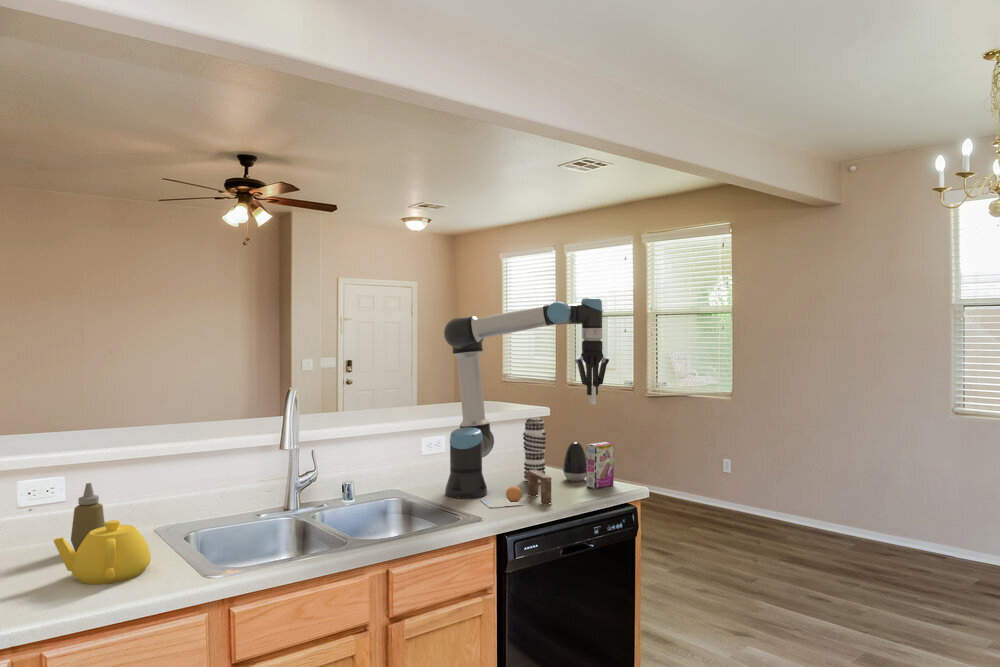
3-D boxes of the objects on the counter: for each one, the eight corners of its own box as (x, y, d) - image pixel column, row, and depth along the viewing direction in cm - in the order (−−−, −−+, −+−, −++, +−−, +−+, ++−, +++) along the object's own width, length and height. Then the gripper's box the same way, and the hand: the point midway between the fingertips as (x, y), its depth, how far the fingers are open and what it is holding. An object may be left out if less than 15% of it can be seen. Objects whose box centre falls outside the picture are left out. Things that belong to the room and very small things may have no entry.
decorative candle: (535, 477, 274) (535, 416, 274) (551, 481, 267) (550, 418, 267) (518, 480, 268) (518, 417, 269) (533, 484, 261) (533, 419, 261)
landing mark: (479, 500, 235) (479, 499, 235) (512, 497, 238) (512, 497, 238) (490, 508, 223) (490, 507, 223) (523, 505, 227) (523, 505, 227)
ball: (521, 489, 236) (512, 503, 235) (509, 481, 234) (500, 495, 233) (527, 493, 230) (518, 507, 229) (515, 485, 229) (506, 498, 228)
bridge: (543, 505, 228) (543, 477, 228) (528, 495, 241) (528, 470, 242) (551, 504, 229) (551, 477, 229) (536, 495, 242) (536, 469, 243)
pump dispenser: (588, 477, 273) (587, 440, 274) (588, 482, 263) (588, 444, 263) (562, 477, 274) (562, 439, 275) (562, 482, 264) (562, 443, 264)
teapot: (151, 559, 172) (151, 509, 173) (150, 582, 156) (150, 527, 156) (58, 571, 163) (58, 519, 163) (47, 598, 147) (47, 539, 147)
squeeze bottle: (66, 557, 174) (66, 487, 174) (76, 547, 182) (76, 481, 182) (101, 554, 177) (101, 485, 177) (109, 545, 184) (109, 479, 185)
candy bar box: (596, 489, 251) (595, 445, 251) (585, 487, 255) (585, 444, 255) (614, 485, 259) (614, 442, 259) (604, 483, 262) (604, 441, 262)
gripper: (580, 340, 242) (580, 405, 242) (612, 339, 246) (613, 404, 246) (571, 340, 249) (572, 403, 249) (603, 340, 253) (603, 402, 253)
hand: (592, 403), depth 247 cm, fingers closed
